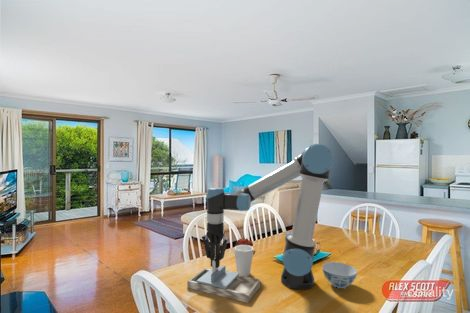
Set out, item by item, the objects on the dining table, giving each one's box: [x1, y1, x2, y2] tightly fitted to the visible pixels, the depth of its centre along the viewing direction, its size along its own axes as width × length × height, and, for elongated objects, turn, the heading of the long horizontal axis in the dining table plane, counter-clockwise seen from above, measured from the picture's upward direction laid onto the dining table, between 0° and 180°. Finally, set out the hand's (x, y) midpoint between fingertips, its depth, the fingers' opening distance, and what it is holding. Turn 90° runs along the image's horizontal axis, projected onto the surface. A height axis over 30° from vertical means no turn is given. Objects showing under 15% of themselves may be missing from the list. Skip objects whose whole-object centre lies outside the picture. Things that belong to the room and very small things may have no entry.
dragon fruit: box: [235, 237, 254, 247], centre depth 168 cm, size 8×8×12 cm
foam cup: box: [233, 245, 254, 277], centre depth 135 cm, size 10×9×13 cm
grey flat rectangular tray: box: [186, 268, 261, 304], centre depth 122 cm, size 29×15×3 cm, turn 66°
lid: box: [196, 265, 239, 289], centre depth 123 cm, size 14×15×4 cm
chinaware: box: [321, 261, 358, 289], centre depth 125 cm, size 15×15×8 cm
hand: (215, 273), depth 123 cm, fingers closed
